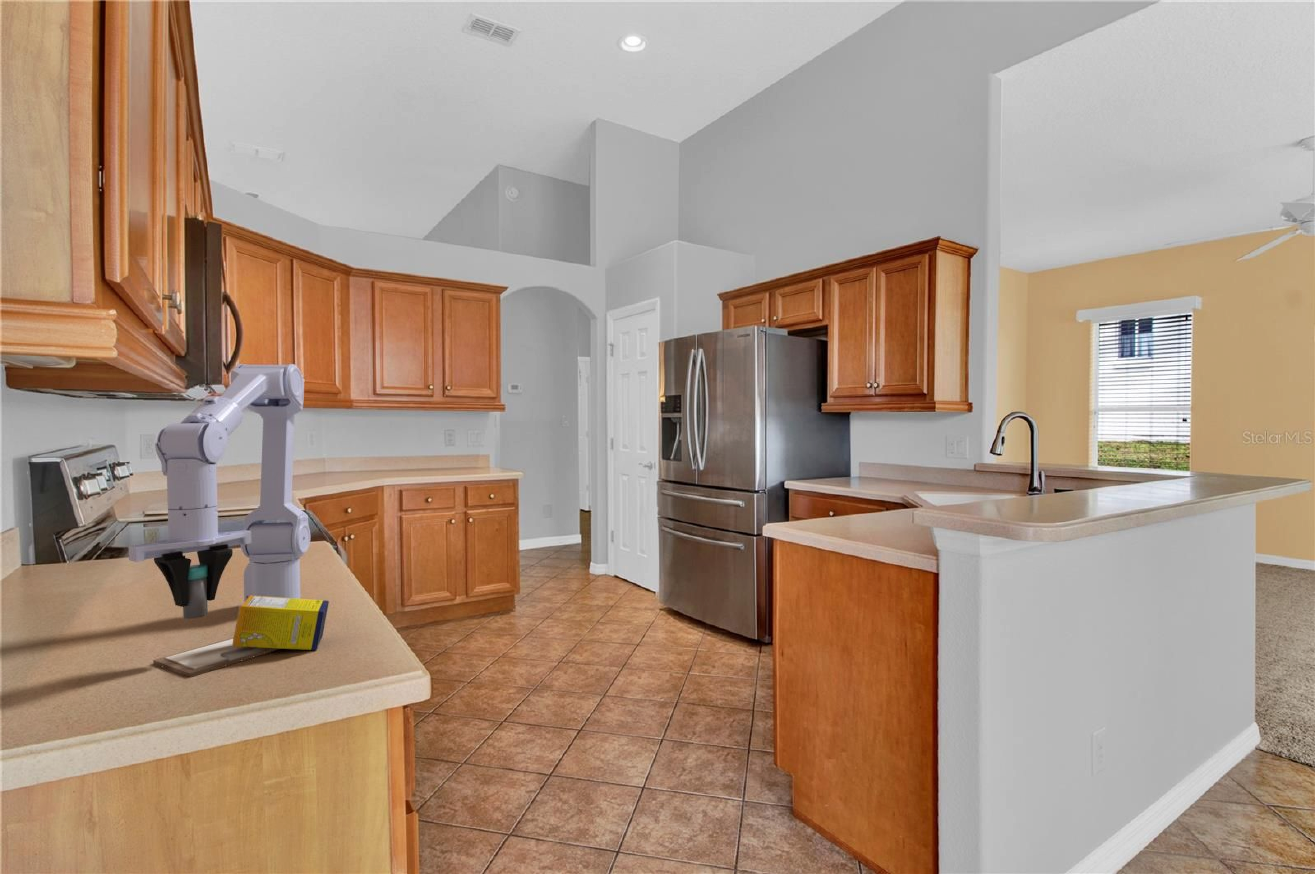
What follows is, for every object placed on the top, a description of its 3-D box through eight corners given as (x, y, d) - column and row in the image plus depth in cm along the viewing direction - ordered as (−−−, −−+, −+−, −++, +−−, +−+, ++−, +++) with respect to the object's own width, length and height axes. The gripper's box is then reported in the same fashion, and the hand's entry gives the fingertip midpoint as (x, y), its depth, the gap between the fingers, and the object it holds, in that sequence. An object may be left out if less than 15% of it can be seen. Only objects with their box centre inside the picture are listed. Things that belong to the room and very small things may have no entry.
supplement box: (322, 638, 98) (241, 633, 94) (329, 599, 98) (249, 594, 95) (317, 651, 93) (230, 647, 89) (324, 611, 93) (238, 605, 89)
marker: (178, 617, 89) (177, 567, 89) (202, 611, 92) (200, 563, 92) (188, 620, 88) (187, 570, 88) (212, 614, 91) (211, 565, 90)
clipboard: (153, 663, 88) (153, 655, 88) (270, 630, 102) (270, 623, 102) (189, 677, 83) (189, 669, 83) (307, 640, 97) (307, 633, 97)
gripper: (145, 515, 81) (147, 620, 82) (261, 503, 94) (263, 593, 94) (120, 512, 85) (123, 612, 85) (236, 500, 97) (237, 588, 98)
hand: (195, 602), depth 90 cm, fingers closed on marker, 3 cm apart
